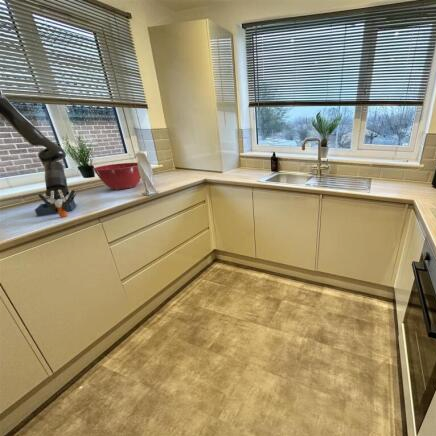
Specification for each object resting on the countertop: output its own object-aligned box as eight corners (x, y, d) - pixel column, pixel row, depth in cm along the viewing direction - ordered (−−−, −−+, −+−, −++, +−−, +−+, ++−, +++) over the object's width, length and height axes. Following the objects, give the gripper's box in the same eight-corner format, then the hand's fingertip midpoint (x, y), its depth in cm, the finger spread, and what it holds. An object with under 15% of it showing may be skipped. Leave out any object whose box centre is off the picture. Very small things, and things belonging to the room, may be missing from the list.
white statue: (141, 194, 152) (128, 149, 142) (153, 191, 159) (142, 147, 148) (147, 196, 148) (135, 149, 137) (160, 193, 154) (149, 148, 144)
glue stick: (59, 219, 115) (52, 202, 111) (63, 217, 117) (56, 200, 114) (65, 219, 115) (59, 202, 112) (70, 216, 118) (63, 200, 114)
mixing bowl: (90, 191, 162) (81, 168, 157) (127, 181, 188) (121, 161, 182) (121, 194, 154) (113, 170, 149) (156, 183, 180) (151, 162, 174)
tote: (38, 218, 117) (34, 209, 116) (44, 211, 126) (40, 203, 124) (72, 212, 124) (69, 204, 122) (76, 206, 132) (73, 199, 131)
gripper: (32, 178, 111) (36, 210, 106) (71, 174, 118) (76, 204, 113) (40, 187, 117) (44, 217, 112) (77, 183, 124) (82, 211, 119)
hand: (60, 210), depth 113 cm, fingers closed on glue stick, 3 cm apart
